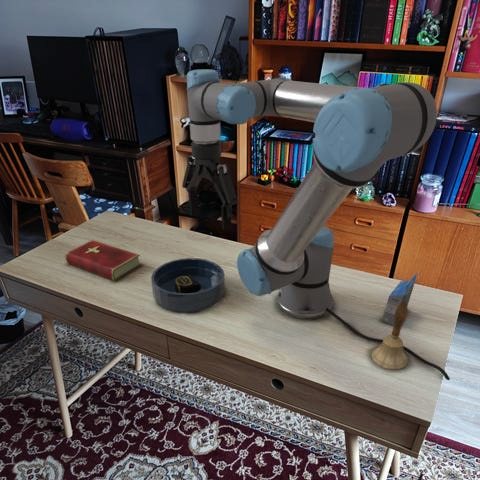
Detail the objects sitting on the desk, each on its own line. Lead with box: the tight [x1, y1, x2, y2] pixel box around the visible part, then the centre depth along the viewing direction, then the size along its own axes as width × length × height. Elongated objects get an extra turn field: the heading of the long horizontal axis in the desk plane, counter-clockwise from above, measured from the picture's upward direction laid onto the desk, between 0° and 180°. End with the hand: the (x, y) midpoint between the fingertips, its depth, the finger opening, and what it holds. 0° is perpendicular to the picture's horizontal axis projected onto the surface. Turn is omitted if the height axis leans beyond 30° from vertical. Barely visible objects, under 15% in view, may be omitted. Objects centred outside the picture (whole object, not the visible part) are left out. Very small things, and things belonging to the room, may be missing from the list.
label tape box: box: [382, 271, 418, 326], centre depth 116 cm, size 9×4×12 cm, turn 145°
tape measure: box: [174, 275, 201, 293], centre depth 127 cm, size 7×7×4 cm
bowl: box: [150, 257, 226, 313], centre depth 127 cm, size 21×21×6 cm
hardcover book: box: [64, 239, 142, 282], centre depth 142 cm, size 12×21×4 cm, turn 58°
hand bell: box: [371, 301, 409, 371], centre depth 100 cm, size 8×8×16 cm
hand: (210, 220), depth 123 cm, fingers open, 13 cm apart
